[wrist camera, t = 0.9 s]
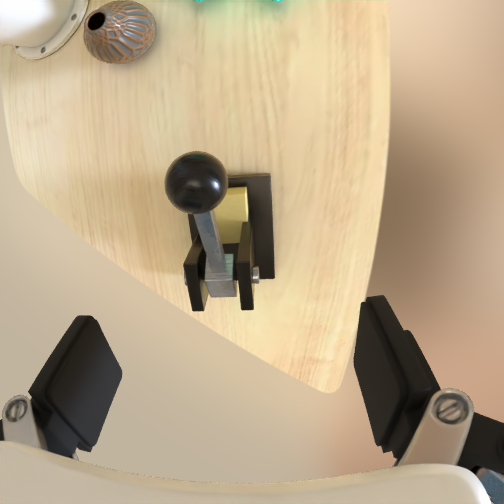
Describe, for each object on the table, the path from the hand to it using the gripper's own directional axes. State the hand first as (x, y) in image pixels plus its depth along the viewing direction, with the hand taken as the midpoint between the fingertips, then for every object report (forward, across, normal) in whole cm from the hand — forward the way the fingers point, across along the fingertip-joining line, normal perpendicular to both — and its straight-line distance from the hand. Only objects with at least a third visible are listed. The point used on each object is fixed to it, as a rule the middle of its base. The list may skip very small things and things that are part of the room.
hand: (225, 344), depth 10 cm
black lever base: (+24, +2, +5) cm, 25 cm away
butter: (+23, +2, +3) cm, 23 cm away
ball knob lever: (+13, +2, 0) cm, 13 cm away
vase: (+25, +10, -18) cm, 32 cm away
